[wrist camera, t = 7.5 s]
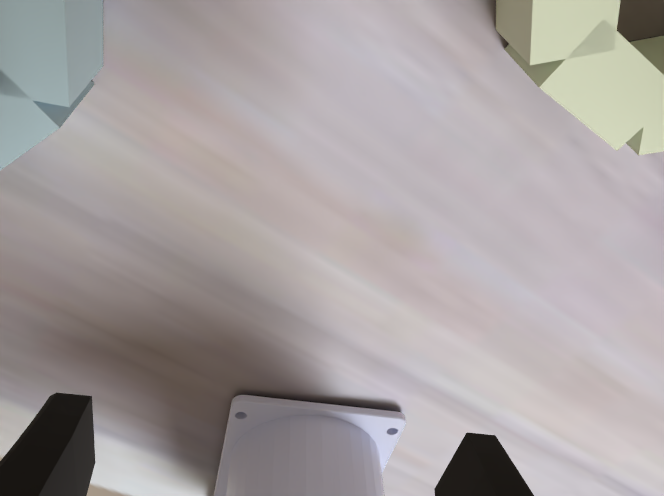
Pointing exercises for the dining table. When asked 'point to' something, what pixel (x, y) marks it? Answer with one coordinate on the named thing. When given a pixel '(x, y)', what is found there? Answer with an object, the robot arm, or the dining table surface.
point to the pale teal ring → (44, 67)
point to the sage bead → (590, 66)
